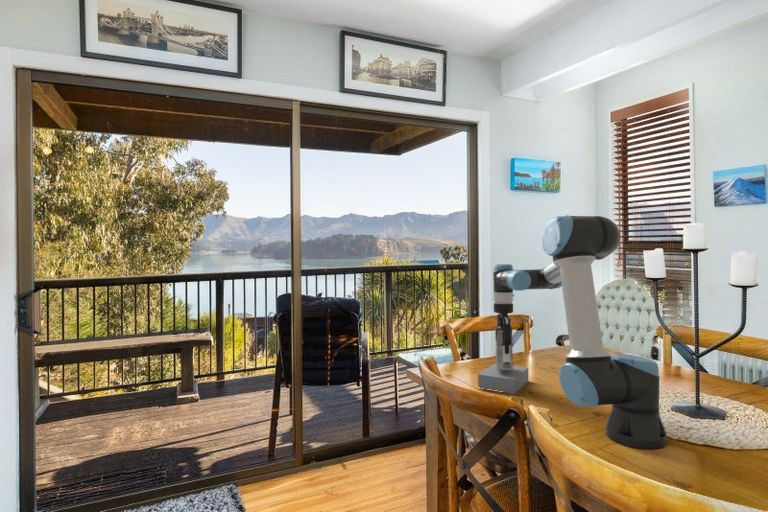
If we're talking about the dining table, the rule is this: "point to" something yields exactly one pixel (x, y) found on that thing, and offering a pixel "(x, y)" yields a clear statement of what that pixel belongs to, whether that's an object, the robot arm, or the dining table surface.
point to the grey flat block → (503, 379)
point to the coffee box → (499, 350)
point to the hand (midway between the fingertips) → (503, 358)
